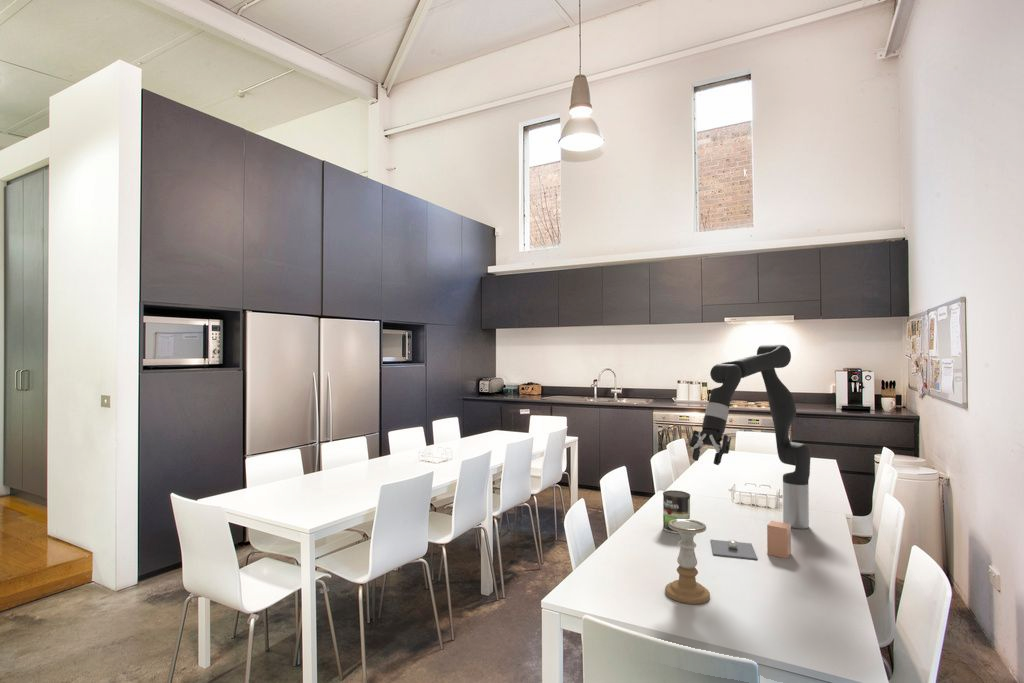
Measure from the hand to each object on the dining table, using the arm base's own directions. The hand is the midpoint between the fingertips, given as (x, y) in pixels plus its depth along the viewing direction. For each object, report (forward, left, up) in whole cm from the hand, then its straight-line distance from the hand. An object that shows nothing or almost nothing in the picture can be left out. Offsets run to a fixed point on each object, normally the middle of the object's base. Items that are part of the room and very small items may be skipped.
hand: (705, 462), depth 188 cm
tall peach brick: (-8, +24, -31) cm, 40 cm away
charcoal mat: (-7, +9, -31) cm, 33 cm away
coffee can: (-24, -10, -32) cm, 41 cm away
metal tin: (-7, +9, -31) cm, 33 cm away
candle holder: (+35, -7, -32) cm, 48 cm away
